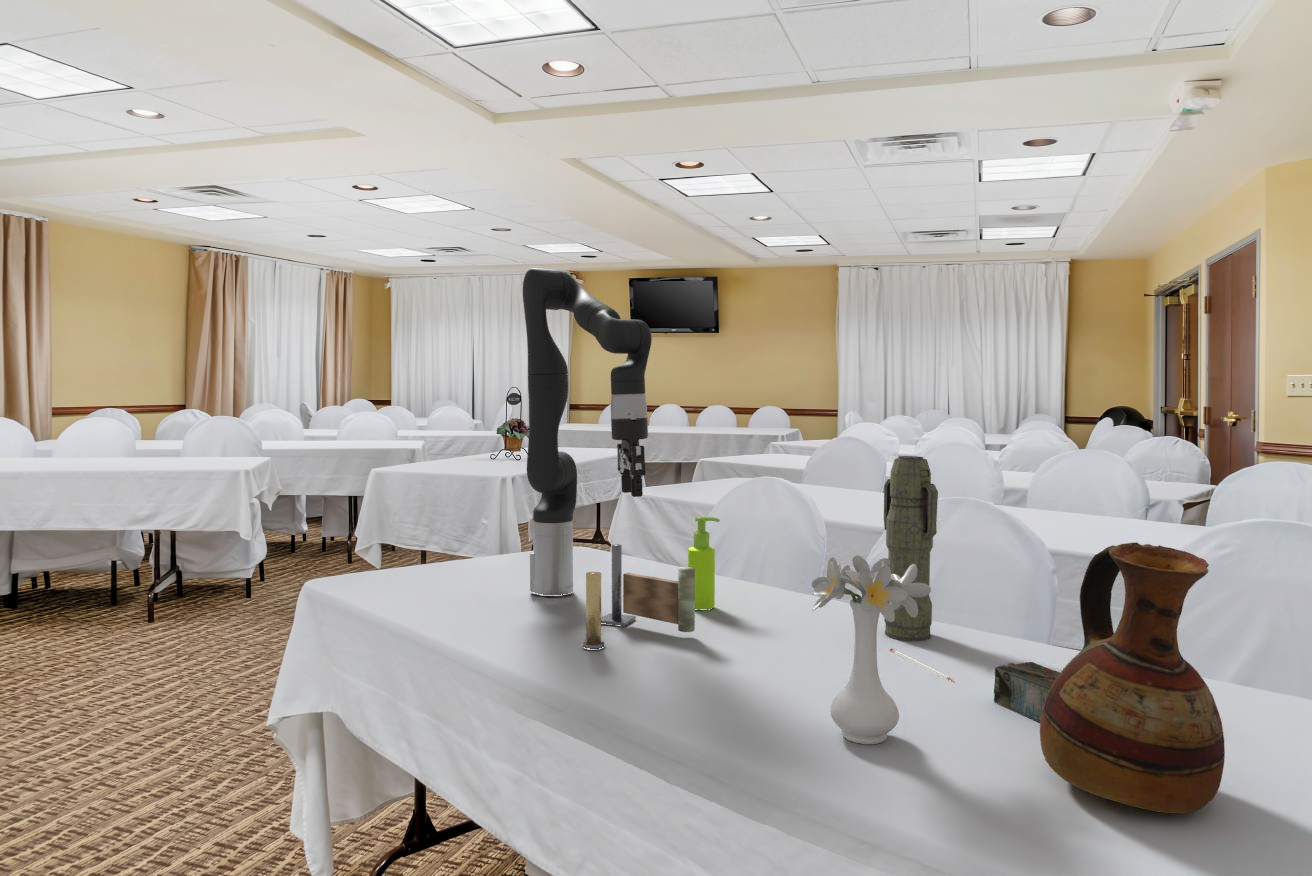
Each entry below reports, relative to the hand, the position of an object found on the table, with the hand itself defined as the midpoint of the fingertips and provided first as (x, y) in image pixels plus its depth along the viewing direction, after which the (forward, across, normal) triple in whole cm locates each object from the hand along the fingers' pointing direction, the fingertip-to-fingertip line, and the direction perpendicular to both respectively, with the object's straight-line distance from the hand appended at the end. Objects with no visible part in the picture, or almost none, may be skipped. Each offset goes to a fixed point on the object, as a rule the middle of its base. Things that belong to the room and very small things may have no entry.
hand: (632, 494), depth 185 cm
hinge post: (+26, +1, -4) cm, 26 cm away
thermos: (+29, +25, +49) cm, 62 cm away
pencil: (+29, +42, +41) cm, 66 cm away
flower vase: (+28, +68, +16) cm, 75 cm away
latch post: (+26, +17, -13) cm, 34 cm away
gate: (+25, +10, +2) cm, 27 cm away
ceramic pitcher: (+30, +92, +38) cm, 103 cm away
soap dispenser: (+27, -6, +17) cm, 32 cm away
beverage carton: (+30, +70, +46) cm, 89 cm away
